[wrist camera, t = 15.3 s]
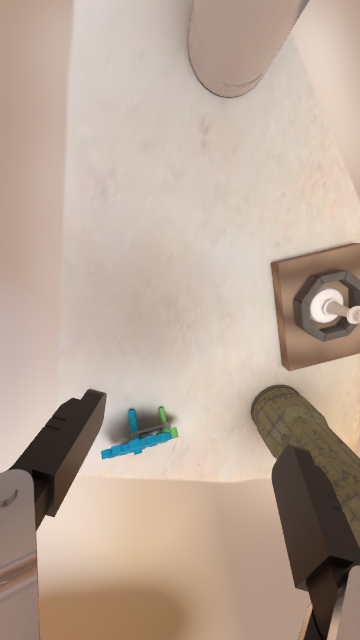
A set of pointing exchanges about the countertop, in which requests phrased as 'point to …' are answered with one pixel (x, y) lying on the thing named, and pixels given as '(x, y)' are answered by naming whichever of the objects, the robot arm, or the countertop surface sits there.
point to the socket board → (288, 287)
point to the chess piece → (331, 307)
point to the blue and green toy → (137, 442)
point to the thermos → (310, 443)
